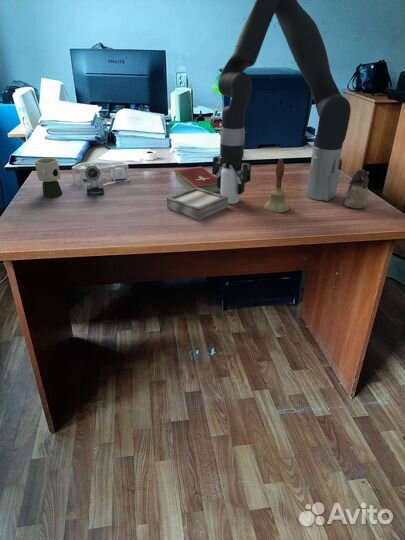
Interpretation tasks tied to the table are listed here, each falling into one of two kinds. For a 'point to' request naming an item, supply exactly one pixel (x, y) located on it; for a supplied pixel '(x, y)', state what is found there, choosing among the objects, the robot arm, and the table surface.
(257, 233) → the table surface
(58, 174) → the character mug
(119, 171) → the skeletal toy car
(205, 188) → the hardcover book
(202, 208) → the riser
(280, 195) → the hand bell
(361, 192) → the figurine
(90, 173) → the watch
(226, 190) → the can
